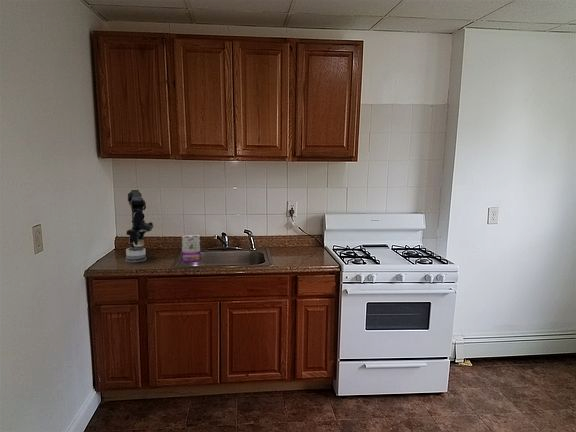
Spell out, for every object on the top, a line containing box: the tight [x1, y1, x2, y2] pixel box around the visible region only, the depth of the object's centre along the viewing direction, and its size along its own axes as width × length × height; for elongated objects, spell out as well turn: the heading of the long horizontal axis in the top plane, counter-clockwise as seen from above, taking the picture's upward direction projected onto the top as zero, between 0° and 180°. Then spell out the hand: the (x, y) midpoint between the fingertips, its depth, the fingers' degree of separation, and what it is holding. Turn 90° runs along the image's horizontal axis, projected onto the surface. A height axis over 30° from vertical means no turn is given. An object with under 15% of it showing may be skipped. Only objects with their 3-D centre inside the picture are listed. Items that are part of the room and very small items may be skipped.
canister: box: [125, 246, 147, 264], centre depth 232 cm, size 12×12×7 cm
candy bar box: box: [181, 234, 202, 264], centre depth 232 cm, size 11×5×16 cm, turn 106°
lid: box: [133, 239, 145, 247], centre depth 231 cm, size 6×6×3 cm
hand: (138, 243), depth 231 cm, fingers closed on lid, 6 cm apart
